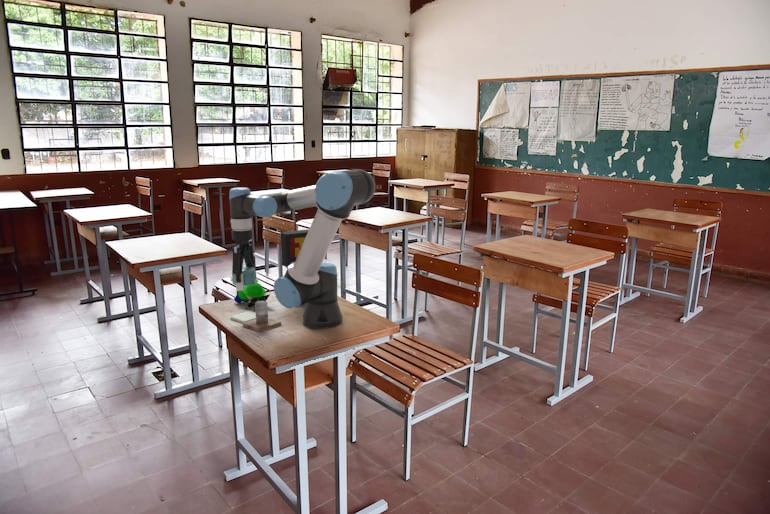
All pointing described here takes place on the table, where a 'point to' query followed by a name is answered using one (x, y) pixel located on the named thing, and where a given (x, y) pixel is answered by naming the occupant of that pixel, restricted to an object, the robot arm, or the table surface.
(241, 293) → the toy
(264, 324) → the post stand
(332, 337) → the table surface
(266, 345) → the table surface
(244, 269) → the cap
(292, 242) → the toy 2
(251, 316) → the mat
